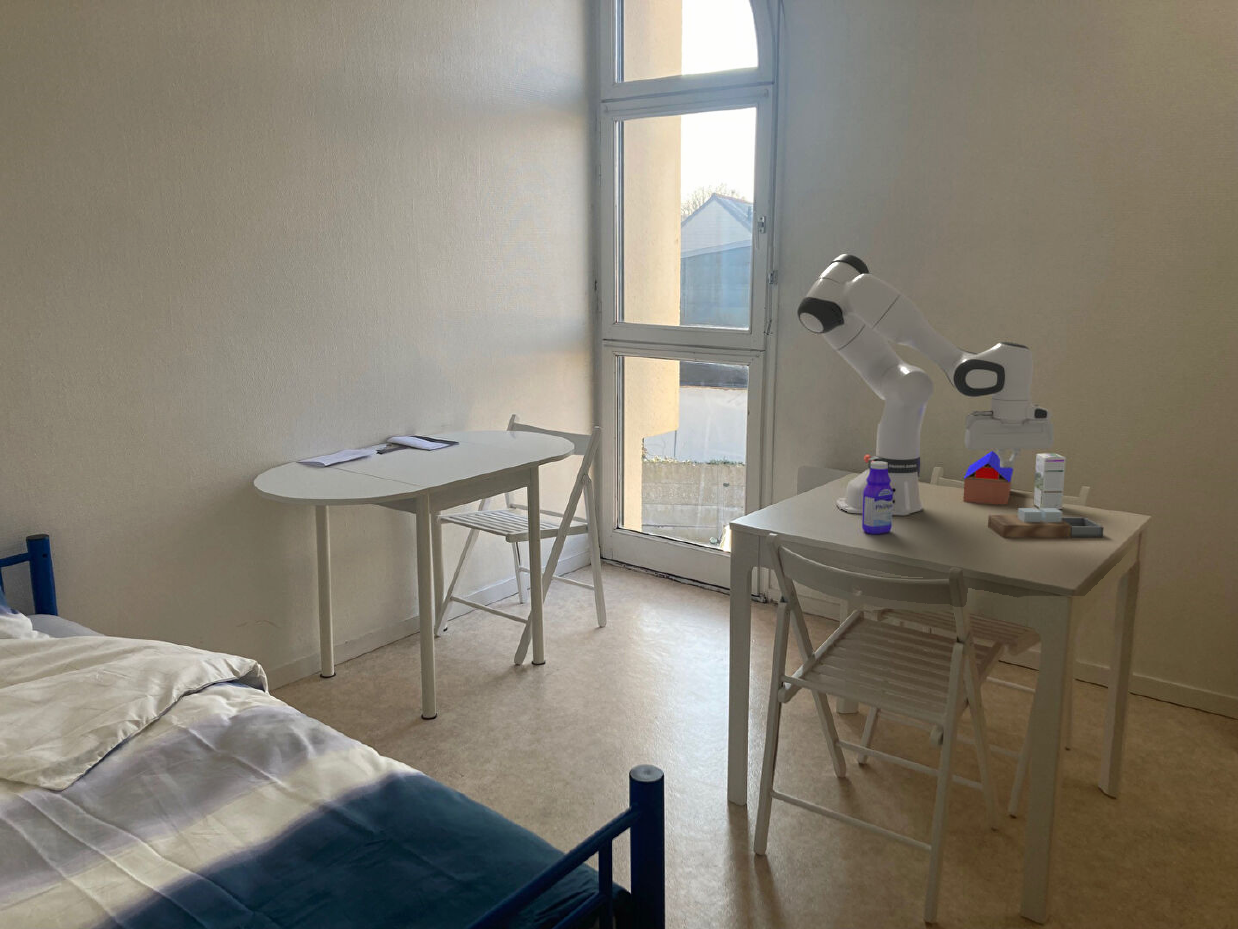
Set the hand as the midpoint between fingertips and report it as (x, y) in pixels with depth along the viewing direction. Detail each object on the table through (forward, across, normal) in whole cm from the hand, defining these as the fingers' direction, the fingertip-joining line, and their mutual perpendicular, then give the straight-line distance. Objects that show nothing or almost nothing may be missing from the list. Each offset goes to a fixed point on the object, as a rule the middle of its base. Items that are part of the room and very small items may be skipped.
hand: (1007, 467), depth 229 cm
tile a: (+13, +11, 0) cm, 17 cm away
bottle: (+16, -31, 0) cm, 35 cm away
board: (+16, +6, 0) cm, 17 cm away
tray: (+16, +18, 0) cm, 25 cm away
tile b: (+13, +6, 0) cm, 15 cm away
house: (+17, +10, +39) cm, 44 cm away
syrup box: (+17, +21, +25) cm, 37 cm away
